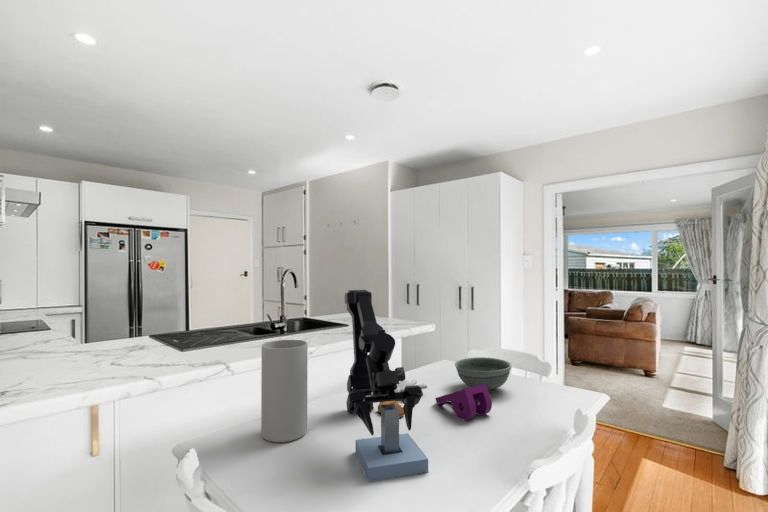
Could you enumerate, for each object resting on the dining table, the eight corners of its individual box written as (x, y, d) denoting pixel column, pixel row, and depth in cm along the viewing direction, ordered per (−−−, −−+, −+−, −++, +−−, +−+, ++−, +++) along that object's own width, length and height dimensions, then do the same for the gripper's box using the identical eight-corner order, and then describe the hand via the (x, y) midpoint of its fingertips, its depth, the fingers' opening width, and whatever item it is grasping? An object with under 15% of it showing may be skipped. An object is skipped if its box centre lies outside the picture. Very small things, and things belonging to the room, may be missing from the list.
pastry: (410, 416, 122) (409, 404, 122) (393, 422, 118) (392, 409, 118) (391, 407, 129) (391, 396, 129) (375, 412, 125) (374, 400, 125)
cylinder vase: (292, 420, 118) (292, 338, 119) (316, 433, 109) (316, 343, 110) (253, 433, 109) (253, 344, 110) (275, 448, 100) (275, 350, 101)
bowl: (519, 398, 137) (519, 370, 137) (460, 398, 137) (459, 370, 137) (502, 381, 157) (502, 356, 158) (450, 381, 158) (450, 356, 158)
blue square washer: (355, 451, 98) (355, 439, 98) (407, 444, 102) (407, 433, 102) (368, 481, 85) (368, 467, 85) (428, 472, 89) (428, 458, 89)
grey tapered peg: (381, 459, 95) (381, 405, 95) (394, 457, 96) (394, 403, 96) (384, 466, 91) (384, 410, 92) (399, 464, 92) (399, 408, 93)
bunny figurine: (380, 386, 139) (411, 373, 148) (381, 400, 139) (413, 387, 148) (397, 393, 131) (429, 379, 140) (398, 407, 132) (430, 393, 141)
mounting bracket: (437, 426, 128) (473, 418, 115) (429, 399, 131) (464, 389, 118) (458, 419, 133) (495, 411, 120) (450, 394, 137) (485, 383, 123)
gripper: (348, 358, 95) (357, 421, 84) (420, 353, 100) (437, 412, 89) (343, 381, 103) (351, 442, 92) (410, 375, 108) (425, 432, 97)
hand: (391, 432), depth 92 cm, fingers open, 9 cm apart
